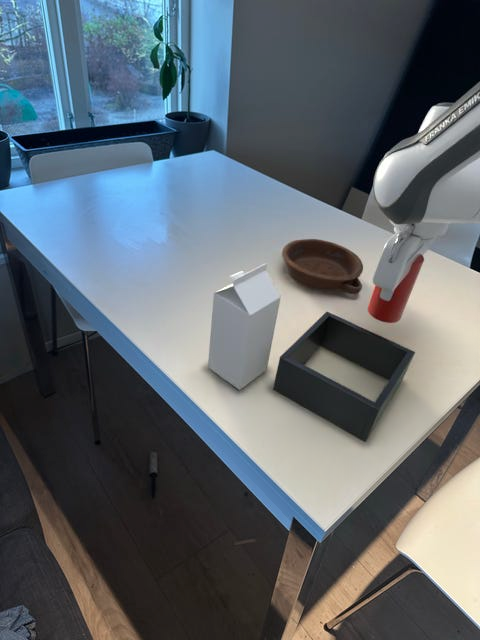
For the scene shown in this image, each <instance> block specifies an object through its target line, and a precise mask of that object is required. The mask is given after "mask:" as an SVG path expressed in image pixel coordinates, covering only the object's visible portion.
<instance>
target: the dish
mask: <svg viewBox="0 0 480 640" xmlns="http://www.w3.org/2000/svg"><path fill="white" fill-rule="evenodd" d="M281 257H282V259H283V261H284V264H285V268H286V271H287V273H288V275H289V276H290V277H291V278H292V279H293V280H294V281H295V282H296V283H298V284H300V285H302V286H304V287H306V288H310V289H314V290H320V291H342V292H344V293H348V294H351V295H358V294H359V293H360V292H361V290H362V289H363V284H362V282H361V280H360V279H359V278H360V276H361V275H362V273H363V271H364V264H363V261H362V260H361V258H360V257H359V256H358V255H357V254H356V253H355V252H353V251H352V250H351V249H348V248H347V247H345V246H342V245H341V244H338V243H335V242H332V241H327V240H325V239H319V238H302V239H295V240H292V241H289V242H288V243H287V244H286V245H284V246H283V248H282V252H281Z"/></svg>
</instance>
